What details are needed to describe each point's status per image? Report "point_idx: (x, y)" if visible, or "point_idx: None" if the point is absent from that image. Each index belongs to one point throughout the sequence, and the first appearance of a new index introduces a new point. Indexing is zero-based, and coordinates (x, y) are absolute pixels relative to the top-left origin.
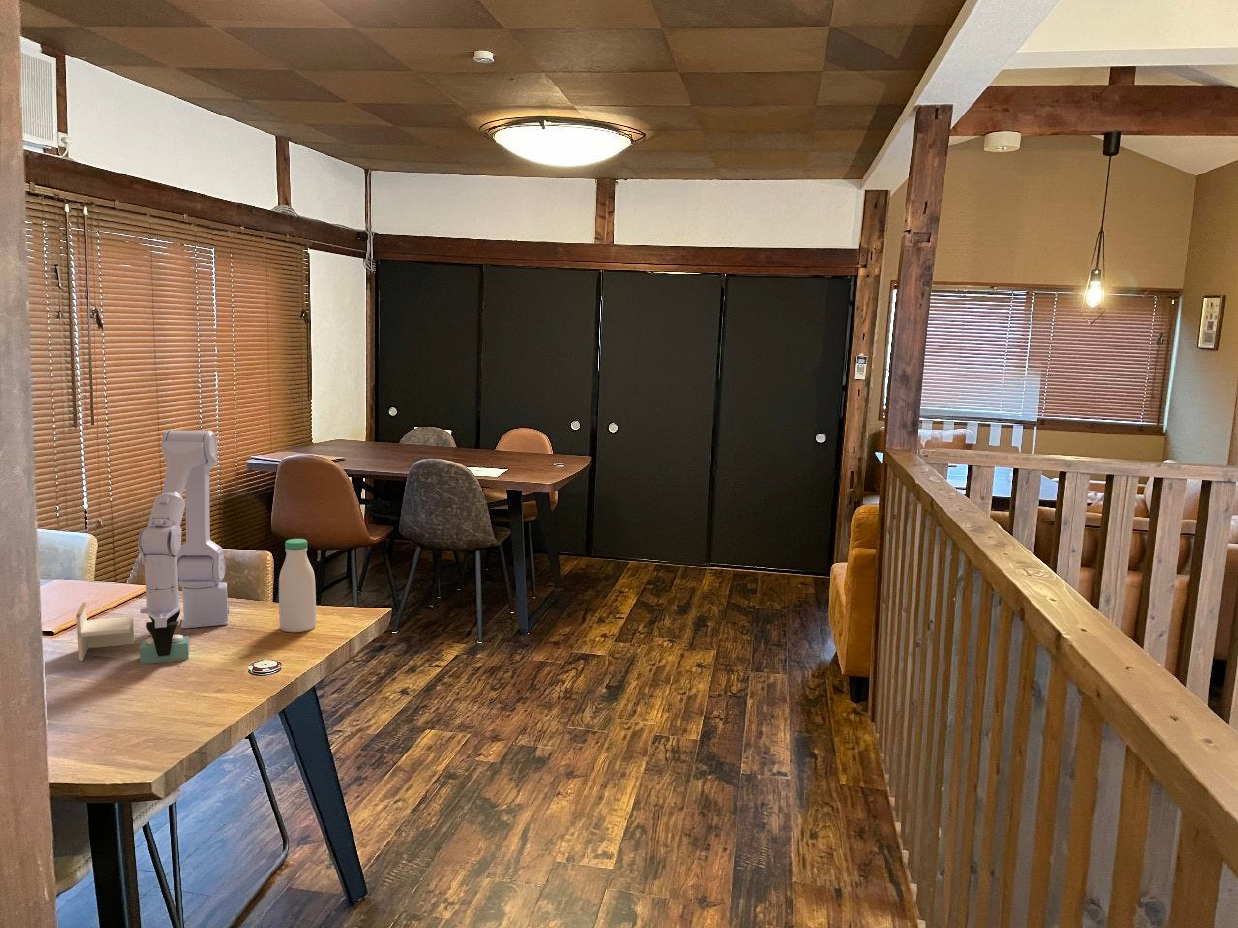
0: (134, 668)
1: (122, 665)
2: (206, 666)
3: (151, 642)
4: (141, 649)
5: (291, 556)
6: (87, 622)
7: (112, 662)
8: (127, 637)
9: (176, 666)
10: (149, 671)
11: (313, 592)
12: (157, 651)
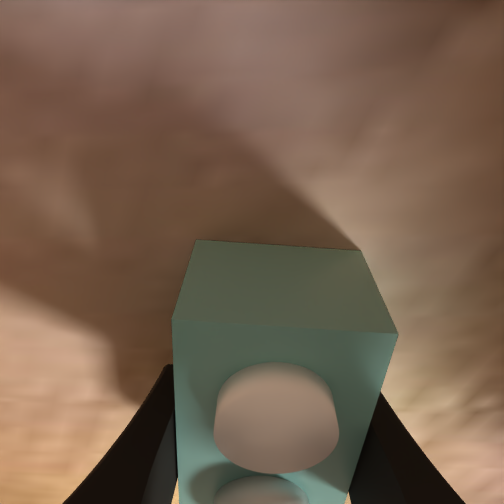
0: (116, 202)
1: (209, 116)
2: (72, 484)
3: (218, 411)
4: (173, 316)
5: None
6: None
7: (322, 26)
8: None
9: (99, 397)
10: (38, 285)
11: None
12: (151, 391)
